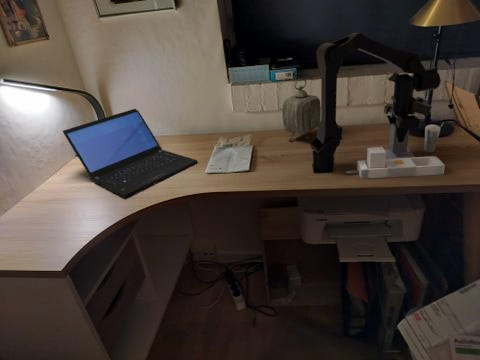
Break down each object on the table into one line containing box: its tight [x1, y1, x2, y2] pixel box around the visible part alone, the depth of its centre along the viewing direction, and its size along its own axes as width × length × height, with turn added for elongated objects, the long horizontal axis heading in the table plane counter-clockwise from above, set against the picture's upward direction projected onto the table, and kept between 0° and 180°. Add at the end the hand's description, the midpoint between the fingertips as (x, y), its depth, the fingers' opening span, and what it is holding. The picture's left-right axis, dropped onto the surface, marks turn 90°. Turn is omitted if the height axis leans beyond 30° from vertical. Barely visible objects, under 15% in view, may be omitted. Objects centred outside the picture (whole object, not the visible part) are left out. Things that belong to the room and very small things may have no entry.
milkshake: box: [423, 121, 445, 153], centre depth 114 cm, size 4×5×10 cm
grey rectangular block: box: [388, 123, 410, 153], centre depth 112 cm, size 4×4×9 cm
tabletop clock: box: [281, 77, 321, 142], centre depth 135 cm, size 14×9×25 cm, turn 133°
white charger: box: [366, 146, 386, 169], centre depth 105 cm, size 4×4×8 cm
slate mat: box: [384, 147, 416, 159], centre depth 115 cm, size 10×10×1 cm
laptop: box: [62, 108, 198, 198], centre depth 129 cm, size 33×38×19 cm
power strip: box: [345, 155, 446, 179], centre depth 105 cm, size 28×7×4 cm, turn 83°
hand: (398, 139), depth 113 cm, fingers closed on grey rectangular block, 4 cm apart
